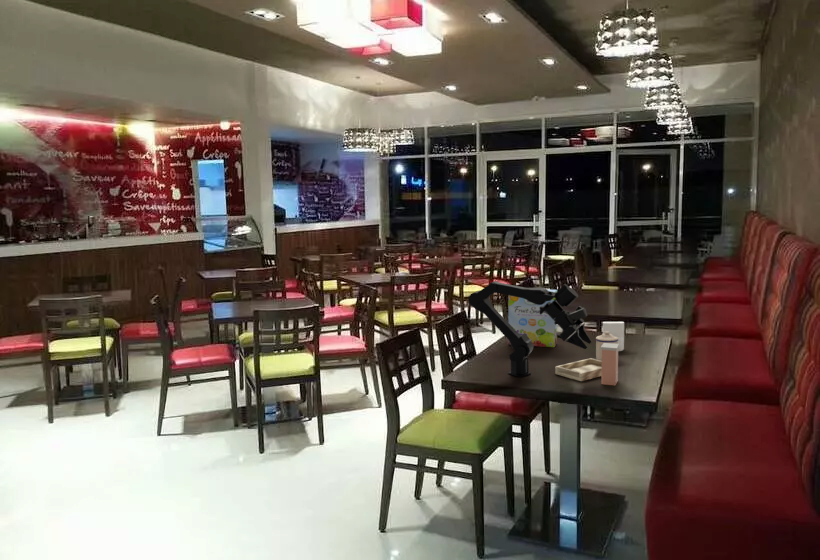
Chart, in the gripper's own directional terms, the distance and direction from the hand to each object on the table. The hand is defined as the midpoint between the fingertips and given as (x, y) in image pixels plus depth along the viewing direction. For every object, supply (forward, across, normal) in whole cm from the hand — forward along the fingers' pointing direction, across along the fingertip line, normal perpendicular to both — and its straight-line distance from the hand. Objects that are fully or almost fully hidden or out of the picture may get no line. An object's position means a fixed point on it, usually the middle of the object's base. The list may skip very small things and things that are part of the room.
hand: (588, 345), depth 249 cm
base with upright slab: (+11, +53, +8) cm, 55 cm away
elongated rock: (-8, +87, +28) cm, 92 cm away
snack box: (-14, +51, +33) cm, 62 cm away
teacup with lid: (+11, +36, +8) cm, 38 cm away
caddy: (+15, 0, +4) cm, 16 cm away
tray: (+8, +10, +11) cm, 17 cm away
